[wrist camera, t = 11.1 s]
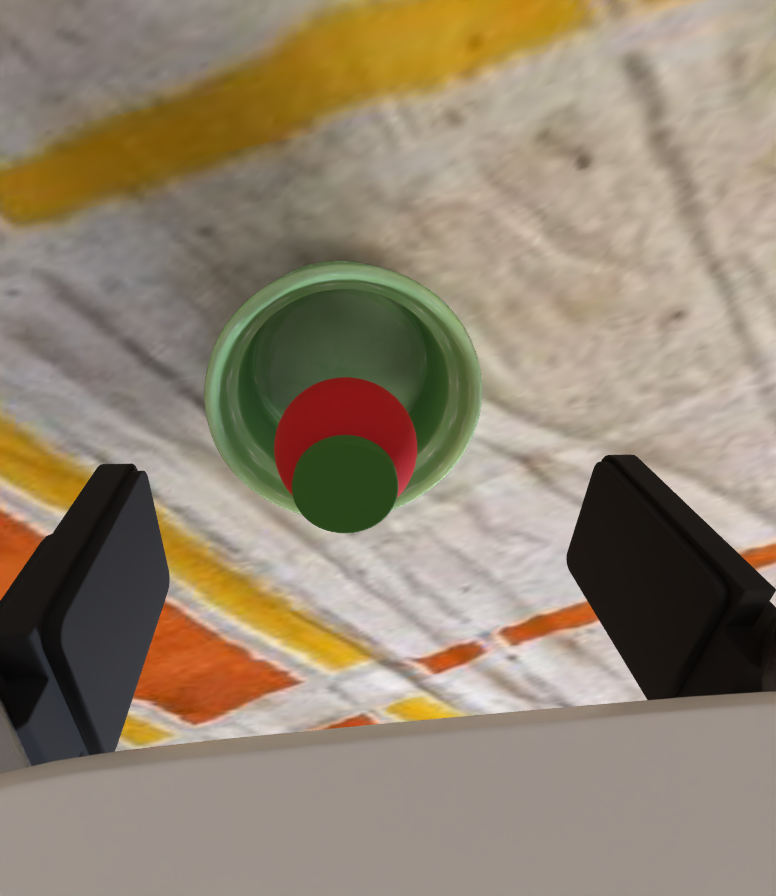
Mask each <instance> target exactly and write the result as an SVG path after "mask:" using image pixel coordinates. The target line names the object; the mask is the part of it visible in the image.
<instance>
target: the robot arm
mask: <svg viewBox="0 0 776 896" xmlns="http://www.w3.org/2000/svg"><path fill="white" fill-rule="evenodd" d="M567 565H568V569H569V571H570V572H571V574H572V576H573V577H574V579H575V581H576V582H577V584H578V586H579V587H580V589H581V591H582V592H583V594H584V596H585V597H586V599H587V601H588V602H589V604H590V606H591V607H592V609H593V610H594V612H595V614H596V615H597V617H598V619H599V620H600V622H601V624H602V625H603V627H604V629H605V630H606V632H607V634H608V635H609V637H610V639H611V640H612V642H613V644H614V645H615V647H616V649H617V650H618V652H619V653H620V655H621V657H622V658H623V660H624V662H625V663H626V665H627V667H628V668H629V670H630V672H631V673H632V675H633V677H634V678H635V680H636V682H637V683H638V685H639V687H640V688H641V690H642V692H643V693H644V695H645V697H646V698H647V699H648V700H646V701H634V702H623V703H611V704H599V705H587V706H576V707H564V708H552V709H541V710H530V711H519V712H508V713H497V714H486V715H474V716H463V717H453V718H442V719H431V720H420V721H409V722H398V723H387V724H376V725H366V726H356V727H345V728H335V729H325V730H314V731H304V732H294V733H283V734H273V735H262V736H252V737H242V738H231V739H221V740H212V741H204V742H195V743H186V744H177V745H168V746H159V747H150V748H142V749H133V750H124V751H115V749H116V747H117V744H118V741H119V738H120V735H121V732H122V729H123V726H124V723H125V720H126V717H127V714H128V711H129V708H130V705H131V702H132V699H133V695H134V692H135V689H136V686H137V683H138V680H139V677H140V674H141V671H142V668H143V665H144V662H145V659H146V656H147V653H148V650H149V647H150V644H151V641H152V638H153V635H154V632H155V629H156V626H157V623H158V620H159V617H160V614H161V611H162V608H163V605H164V602H165V598H166V595H167V592H168V589H169V570H168V565H167V561H166V556H165V552H164V547H163V543H162V538H161V534H160V529H159V525H158V520H157V516H156V511H155V507H154V502H153V498H152V493H151V489H150V484H149V480H148V476H147V474H146V472H145V471H138V470H137V468H136V466H135V465H134V464H102V465H99V466H98V468H97V469H96V470H95V472H94V473H93V475H92V476H91V478H90V479H89V481H88V482H87V484H86V485H85V487H84V488H83V489H82V491H81V492H80V494H79V495H78V497H77V498H76V500H75V501H74V503H73V504H72V506H71V507H70V509H69V510H68V512H67V513H66V515H65V516H64V518H63V519H62V520H61V522H60V523H59V525H58V526H57V528H56V529H55V531H54V532H53V534H51V535H48V536H46V537H45V539H44V540H43V541H42V542H41V543H40V544H39V546H38V547H37V549H36V550H35V552H34V553H33V555H32V556H31V557H30V559H29V560H28V562H27V563H26V565H25V566H24V568H23V569H22V570H21V572H20V573H19V575H18V576H17V578H16V579H15V581H14V582H13V583H12V585H11V586H10V588H9V589H8V591H7V592H6V594H5V595H4V596H3V598H2V599H1V601H0V896H776V607H775V606H774V605H773V604H772V603H771V602H770V599H771V598H772V596H773V594H774V593H775V591H776V589H775V588H774V587H773V586H772V585H771V584H770V583H769V582H768V581H767V580H766V579H764V578H763V577H762V576H761V575H760V574H759V573H758V572H757V571H756V570H755V569H754V568H753V567H752V566H751V565H750V564H749V563H748V562H747V561H746V560H745V559H744V558H743V557H741V556H740V555H739V554H738V553H737V552H736V551H735V550H734V549H733V548H732V547H731V546H730V545H729V544H728V543H727V542H726V541H725V540H724V539H723V538H722V537H721V536H719V535H718V534H717V533H716V532H715V531H714V530H713V529H712V528H711V527H710V526H709V525H708V524H707V523H706V522H705V521H704V520H703V519H702V518H701V517H700V516H699V515H698V514H696V513H695V512H694V511H693V510H692V509H691V508H690V507H689V506H688V505H687V504H686V503H685V502H684V501H683V500H682V499H681V498H680V497H679V496H678V495H677V494H676V493H674V492H673V491H672V490H671V489H670V488H669V487H668V486H667V485H666V484H665V483H664V482H663V481H662V480H661V479H660V478H659V477H658V476H657V475H656V474H655V473H654V472H652V471H651V470H650V469H649V468H648V467H647V466H646V465H645V464H644V463H643V462H642V461H641V460H640V459H639V458H638V457H636V456H635V455H607V456H605V457H604V458H603V459H602V461H601V462H598V463H597V464H596V465H595V467H594V469H593V472H592V476H591V479H590V482H589V485H588V488H587V492H586V495H585V498H584V501H583V504H582V507H581V511H580V514H579V517H578V520H577V523H576V527H575V530H574V533H573V536H572V539H571V543H570V546H569V549H568V552H567ZM114 751H115V752H114Z"/></svg>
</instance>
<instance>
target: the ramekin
mask: <svg viewBox="0 0 776 896" xmlns="http://www.w3.org/2000/svg"><path fill="white" fill-rule="evenodd" d="M340 377H351V378H359V379H363V380H367V381H370V382H373V383H375V384H377V385H379V386H381V387H383V388H384V389H386V390H387V391H389V392H390V393H391V394H392V395H393V396H395V397H396V398H397V399H398V400H399V402H400V403H401V404H402V405H403V406H404V408H405V409H406V411H407V412H408V414H409V416H410V419H411V421H412V423H413V426H414V429H415V432H416V439H417V458H416V464H415V468H414V471H413V474H412V476H411V478H410V481H409V483H408V484H407V486H406V488H405V489H404V491H403V492H402V493H401V494H400V495H399V497H398V498H397V499H396V502H395V504H394V507H393V508H392V510H393V509H396V508H399V507H401V506H403V505H405V504H407V503H409V502H411V501H413V500H414V499H416V498H417V497H419V496H421V495H422V494H424V493H426V492H427V491H428V490H430V489H431V488H432V487H434V486H435V485H436V484H437V483H438V482H439V481H441V480H442V479H443V478H444V477H445V476H446V475H447V474H448V473H449V472H450V471H451V469H452V468H453V467H454V466H455V464H456V463H457V462H458V460H459V459H460V458H461V456H462V455H463V453H464V451H465V450H466V448H467V446H468V444H469V442H470V440H471V438H472V436H473V434H474V431H475V428H476V425H477V422H478V418H479V414H480V408H481V399H482V379H481V371H480V366H479V361H478V357H477V354H476V351H475V349H474V346H473V343H472V341H471V339H470V337H469V335H468V333H467V331H466V330H465V328H464V326H463V325H462V323H461V322H460V320H459V319H458V318H457V316H456V315H455V314H454V313H453V311H452V310H451V309H450V308H449V307H448V306H447V305H446V304H445V303H444V302H443V301H442V300H441V299H440V298H439V297H438V296H437V295H435V294H434V293H433V292H431V291H430V290H429V289H427V288H426V287H424V286H423V285H421V284H419V283H418V282H416V281H414V280H412V279H410V278H408V277H406V276H404V275H402V274H399V273H397V272H394V271H391V270H388V269H385V268H381V267H376V266H373V265H368V264H363V263H359V262H352V261H343V260H338V261H325V262H321V263H316V264H309V265H306V266H303V267H300V268H298V269H295V270H293V271H291V272H289V273H288V274H286V275H284V276H282V277H281V278H279V279H278V280H276V281H274V282H272V283H270V284H269V285H267V286H265V287H264V288H262V289H261V290H259V291H258V292H257V293H256V294H254V295H253V296H252V297H251V298H250V299H248V300H247V301H246V302H245V303H244V304H243V305H242V306H241V307H240V308H239V309H238V310H237V311H236V313H235V314H234V315H233V316H232V317H231V319H230V320H229V322H228V323H227V324H226V326H225V327H224V329H223V330H222V332H221V334H220V336H219V337H218V340H217V342H216V344H215V346H214V348H213V351H212V354H211V357H210V360H209V364H208V368H207V372H206V379H205V388H204V400H205V411H206V416H207V421H208V425H209V429H210V432H211V435H212V437H213V440H214V442H215V444H216V447H217V449H218V451H219V453H220V454H221V456H222V457H223V459H224V461H225V462H226V463H227V465H228V466H229V467H230V469H231V470H232V471H233V472H234V473H235V474H236V476H237V477H238V478H239V479H241V480H242V481H243V482H244V483H245V484H246V485H247V486H248V487H249V488H251V489H252V490H253V491H254V492H256V493H257V494H259V495H260V496H262V497H263V498H264V499H266V500H268V501H270V502H271V503H273V504H275V505H278V506H280V507H282V508H284V509H287V510H289V511H292V512H295V513H298V514H301V512H300V511H299V509H298V508H297V506H296V504H295V502H294V499H293V496H292V495H291V494H290V492H289V491H288V490H287V488H286V487H285V485H284V484H283V482H282V479H281V477H280V475H279V473H278V470H277V466H276V461H275V454H274V442H275V436H276V430H277V427H278V424H279V422H280V420H281V418H282V416H283V414H284V412H285V410H286V409H287V407H288V406H289V404H290V403H291V402H292V401H293V400H294V399H295V398H296V397H297V396H298V395H299V394H300V393H302V392H303V391H304V390H305V389H307V388H309V387H310V386H312V385H314V384H316V383H319V382H321V381H325V380H328V379H333V378H340Z"/></svg>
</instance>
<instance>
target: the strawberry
mask: <svg viewBox="0 0 776 896" xmlns="http://www.w3.org/2000/svg"><path fill="white" fill-rule="evenodd" d="M274 454H275V461H276V466H277V470H278V473H279V475H280V477H281V479H282V482H283V484H284V485H285V487H286V488H287V490H288V491H289V492H290V494H291V495H292V496H293V499H294V502H295V504H296V506H297V508H298V509H299V511H300V512H301V514H302V515H303V516H304V517H305V518H306V519H307V520H308V521H310V522H311V523H312V524H314V525H316V526H317V527H319V528H322V529H324V530H327V531H331V532H336V533H354V532H359V531H363V530H366V529H368V528H371V527H373V526H375V525H376V524H378V523H379V522H381V521H382V520H383V519H384V518H385V517H386V516H387V515H388V514H389V513H390V511H391V510H392V508H393V507H394V504H395V502H396V499H397V498H398V497H399V495H400V494H401V493H402V492H403V491H404V489H405V488H406V486H407V484H408V483H409V481H410V478H411V476H412V474H413V471H414V468H415V464H416V458H417V439H416V432H415V429H414V426H413V423H412V421H411V419H410V416H409V414H408V412H407V411H406V409H405V408H404V406H403V405H402V404H401V403H400V402H399V400H398V399H397V398H396V397H395V396H393V395H392V394H391V393H390V392H389V391H387V390H386V389H384V388H383V387H381V386H379V385H377V384H375V383H373V382H370V381H367V380H363V379H359V378H351V377H340V378H333V379H328V380H325V381H321V382H319V383H316V384H314V385H312V386H310V387H309V388H307V389H305V390H304V391H303V392H302V393H300V394H299V395H298V396H297V397H296V398H295V399H294V400H293V401H292V402H291V403H290V404H289V406H288V407H287V409H286V410H285V412H284V414H283V416H282V418H281V420H280V422H279V424H278V427H277V430H276V436H275V442H274Z"/></svg>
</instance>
